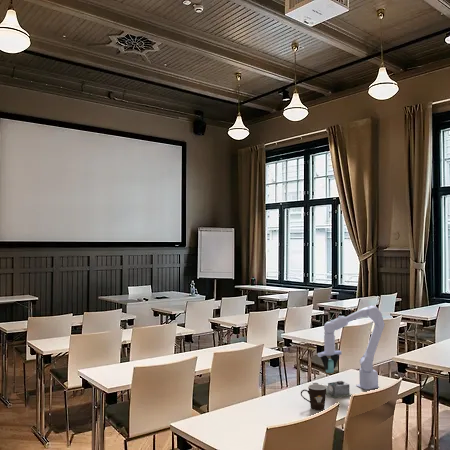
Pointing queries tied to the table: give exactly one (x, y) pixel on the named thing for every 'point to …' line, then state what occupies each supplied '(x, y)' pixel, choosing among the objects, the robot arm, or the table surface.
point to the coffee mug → (316, 396)
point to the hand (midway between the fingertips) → (329, 368)
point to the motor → (337, 389)
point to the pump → (330, 366)
